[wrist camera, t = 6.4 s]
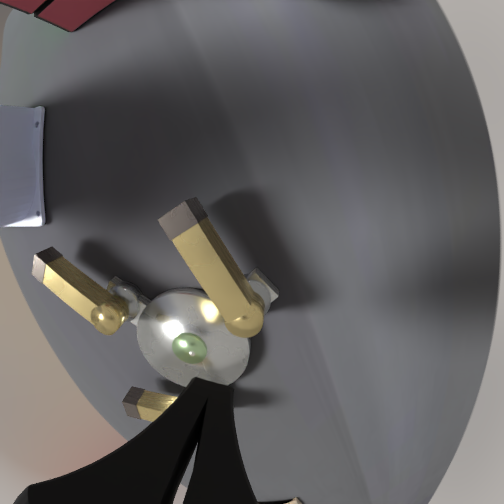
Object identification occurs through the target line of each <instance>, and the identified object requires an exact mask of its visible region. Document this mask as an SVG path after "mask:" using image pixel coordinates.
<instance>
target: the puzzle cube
mask: <svg viewBox="0 0 504 504" xmlns="http://www.w3.org/2000/svg"><path fill="white" fill-rule="evenodd" d="M114 1H115V0H0V4H3V5H6V6H9V7H11V8H14V9H16V10H19V11H22V12H24V13H27V14H32V13H34V17H36V18H39V19H41V20H43V21H45V22H48V23H50V24H52V25H54V26H57V27H59V28H61V29H63V30H65V31H67V32H73V31H74V30H75V29H77V28H78V27H79V26H80V25H82V24H83V23H84V22H85V21H87V20H88V19H89V18H91V17H92V16H93V15H95V14H96V13H98V12H99V11H100V10H102V9H103V8H105V7H106V6H108V5H109V4H111V3H112V2H114Z"/></svg>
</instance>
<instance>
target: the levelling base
mask: <svg viewBox="0 0 504 504" xmlns="http://www.w3.org/2000/svg"><path fill="white" fill-rule="evenodd" d="M244 276H245V278H246V280H247V281H248V283H249V284H250V286H251V287H252V289H253V291H254V292H256V293H258V294H259V295H260V296H261V297H262V298H263V300H264V303H265V311H264V315H265V314H266V313H267V312H268V310H269V308H270V304H271V302H272V301H274V300H275V299H276V298H277V297H279V290H278V289H277V288H276V287H275V286H274V284H273V283H272V282H271V281H270V280H269V279H268V278H267V277H266V276H265V275H264V274H263V273H262V272H261V271H260V270H259V269H258V268H257V267H256V268H255V269H254V270H253V271H252V272H250V273H249V274H245V275H244ZM107 291H108V292H109V293H111V294H112V295H116V296H119V297H121V298H122V299H123V300H124V301H125V302H126V304H127V305H128V308H129V317H128V319H127V320H126V321H130V322H132V323H133V324H135V325H136V326H137V339H138V343H139V346H140V349H141V351H142V353H143V355H144V356H145V358H146V359H147V361H148V362H149V363H150V365H151V366H152V367H153V368H154V369H155V370H156V371H157V372H159V373H160V374H161V375H162V376H164V377H165V378H167V379H168V380H170V381H172V382H174V383H176V384H179V385H181V386H184V387H186V386H187V385H188V384H189V382H190V381H191V379H192V378H194V377H198V378H202V379H205V380H209V381H212V382H216V383H219V384H223V385H229V384H231V383H232V382H234V381H235V380H237V379H238V378H239V377H240V376H241V375H242V373H243V372H244V370H245V368H246V366H247V363H248V360H249V355H250V348H251V340H250V337H249V338H241V337H237V336H235V335H233V334H232V333H230V332H229V331H228V329H227V328H226V326H225V323H224V318H223V317H222V315H221V314H220V312H219V311H218V309H217V308H216V306H215V305H214V304H213V302H212V301H211V299H210V298H209V296H208V295H207V293H206V292H205V291H204V290H200V289H195V288H175V289H171V290H167V291H165V292H163V293H161V294H159V295H158V296H156V297H155V298H154V299H153V300H151V299H149V298H148V297H146V296H145V295H143V294H142V292H141V291H140V289H139V288H138V287H137V286H136V285H134V284H133V283H131V282H128V281H122V280H121V279H120V278H118V277H117V276H115V277H114V278H113V279H111V280H110V281H109V284H108V287H107ZM233 410H234V404H233Z"/></svg>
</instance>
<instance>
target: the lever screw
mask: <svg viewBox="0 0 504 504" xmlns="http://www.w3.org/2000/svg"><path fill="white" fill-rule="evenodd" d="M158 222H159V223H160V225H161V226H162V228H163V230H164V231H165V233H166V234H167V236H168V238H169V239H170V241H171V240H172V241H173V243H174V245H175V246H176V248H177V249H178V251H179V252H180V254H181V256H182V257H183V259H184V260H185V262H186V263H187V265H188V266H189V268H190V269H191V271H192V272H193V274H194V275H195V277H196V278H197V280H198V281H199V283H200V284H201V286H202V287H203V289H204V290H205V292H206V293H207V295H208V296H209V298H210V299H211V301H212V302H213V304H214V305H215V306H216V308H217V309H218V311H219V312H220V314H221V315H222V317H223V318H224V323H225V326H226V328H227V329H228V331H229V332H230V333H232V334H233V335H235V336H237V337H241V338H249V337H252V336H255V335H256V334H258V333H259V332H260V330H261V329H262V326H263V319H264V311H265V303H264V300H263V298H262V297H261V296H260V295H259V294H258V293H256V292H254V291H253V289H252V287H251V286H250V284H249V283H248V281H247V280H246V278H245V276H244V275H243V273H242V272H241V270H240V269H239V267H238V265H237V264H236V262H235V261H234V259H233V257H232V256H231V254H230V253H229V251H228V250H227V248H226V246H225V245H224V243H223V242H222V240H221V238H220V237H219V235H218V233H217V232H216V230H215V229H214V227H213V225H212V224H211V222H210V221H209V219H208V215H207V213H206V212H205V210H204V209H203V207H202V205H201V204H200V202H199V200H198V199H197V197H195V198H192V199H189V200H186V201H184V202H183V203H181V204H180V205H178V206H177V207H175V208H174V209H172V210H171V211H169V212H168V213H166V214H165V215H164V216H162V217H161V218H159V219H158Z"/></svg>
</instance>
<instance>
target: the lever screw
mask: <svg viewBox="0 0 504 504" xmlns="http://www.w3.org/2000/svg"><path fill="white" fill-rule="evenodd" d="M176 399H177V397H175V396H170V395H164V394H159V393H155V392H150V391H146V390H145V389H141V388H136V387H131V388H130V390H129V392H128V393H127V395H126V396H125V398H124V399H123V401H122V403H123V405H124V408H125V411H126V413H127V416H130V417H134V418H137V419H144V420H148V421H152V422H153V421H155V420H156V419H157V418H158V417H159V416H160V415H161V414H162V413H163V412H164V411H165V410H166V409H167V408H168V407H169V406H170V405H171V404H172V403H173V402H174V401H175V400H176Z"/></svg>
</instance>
